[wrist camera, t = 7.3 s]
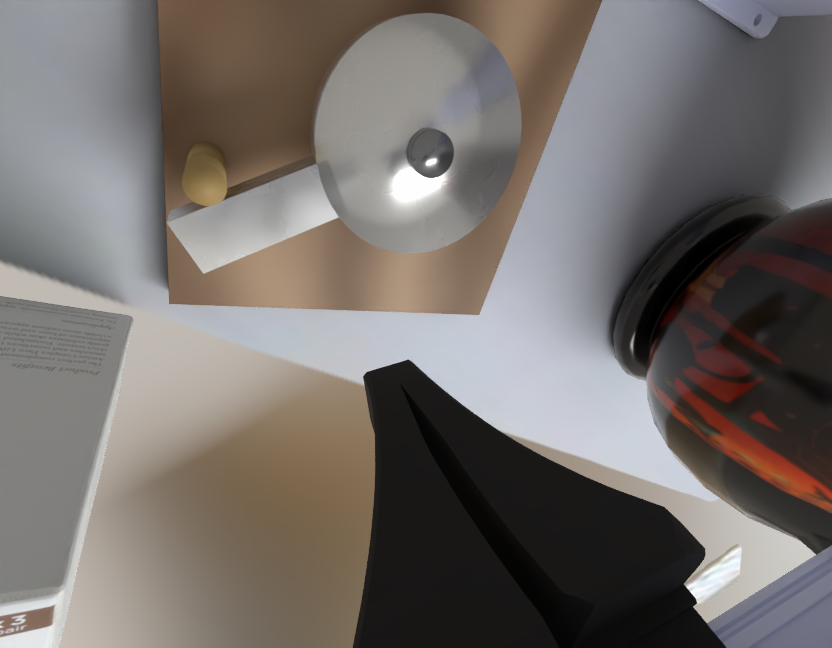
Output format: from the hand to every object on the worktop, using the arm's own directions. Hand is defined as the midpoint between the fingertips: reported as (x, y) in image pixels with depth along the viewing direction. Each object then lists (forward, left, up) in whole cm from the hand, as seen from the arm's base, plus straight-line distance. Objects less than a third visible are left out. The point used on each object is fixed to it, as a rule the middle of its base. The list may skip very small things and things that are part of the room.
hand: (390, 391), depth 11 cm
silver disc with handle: (0, -4, -8) cm, 9 cm away
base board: (-2, -5, -10) cm, 12 cm away
